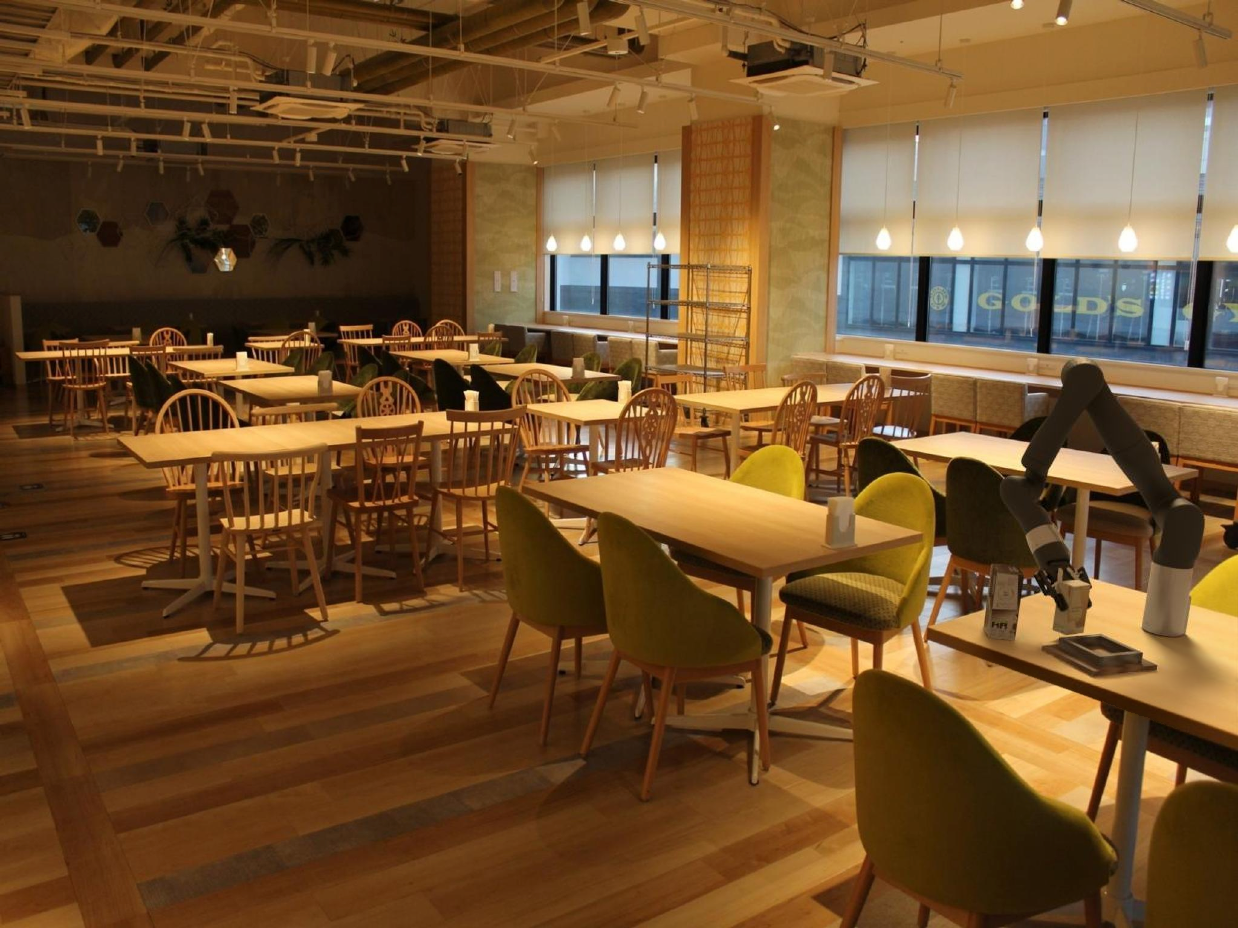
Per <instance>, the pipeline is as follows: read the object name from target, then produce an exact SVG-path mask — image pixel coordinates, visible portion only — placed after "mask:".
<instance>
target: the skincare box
mask: <svg viewBox="0 0 1238 928" xmlns="http://www.w3.org/2000/svg"><path fill="white" fill-rule="evenodd" d="M1091 585H1092V583H1091V584H1088V583H1085V582H1082V581H1079V580H1067V581H1060V582H1059V587H1060V589H1061V593H1060V594H1063V597H1064V599H1065V601H1066V603H1067V605H1068V609H1067V610H1066V611H1064V612H1061V611H1060V609H1058V607H1057V605H1056V604H1055V609H1054V615H1053V623H1052V627H1051V628H1052V629H1051V630H1052V631H1055V632H1056V633H1059V634H1062V635H1064V636H1071V635H1072V636H1074V635H1080V634H1084V632H1085V625H1086V617H1087V613H1088V609H1087V607H1088V600H1089V598H1090V592H1091V589H1090V586H1091Z"/></svg>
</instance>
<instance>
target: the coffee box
mask: <svg viewBox="0 0 1238 928" xmlns="http://www.w3.org/2000/svg"><path fill="white" fill-rule="evenodd" d="M1024 579H1025V574H1024V572H1023V571H1022V570H1021V568H1020V567H1019V566H1018V565H1013V564H1005V563H1001V564H1000V563H999V564H998V563H991V565H990V572H989V580H988V587H987V588H988V589H987V596H986V598H987V599H986V606H985V614H984V622H983V627H984V630H985V633H986V634H987V637H988V638H990V639H999V640H1006V641H1013V642H1014V641H1016V636H1017V628H1018V623H1019V617H1020V616H1019V615H1020V609H1021V607H1020V606H1021V600H1022V593H1023V587H1024Z"/></svg>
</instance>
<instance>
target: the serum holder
mask: <svg viewBox="0 0 1238 928" xmlns="http://www.w3.org/2000/svg"><path fill="white" fill-rule="evenodd" d="M1041 651H1042V652H1043V653H1046V654H1048V655H1050V656H1052V657H1054V658H1056V659H1058V660H1060V661H1062V662H1064V663H1066V664H1067V665H1070V666H1072V667H1074V668H1075V669H1077V670H1080V671H1082V672H1084V673H1086V674H1088V675H1089V676H1091V677H1094V678H1095V677H1104V676H1114V675H1121V674H1131V673H1132V674H1134V673H1141V672H1152V671H1157V670H1158V666H1159V664H1156V663H1154V662H1152V661H1150V660H1148V659H1145V658H1143V655H1144V652H1142V651H1141V650H1138V649H1136V648H1134V647H1131V646H1129V645H1127V644H1125V643H1123V642H1120V641H1118V640H1116V639H1113V638H1112V637H1109V636H1107V635H1104V634H1103V633H1094V634H1085V635H1084V634H1081V635H1072V636H1071V635H1068V636H1059V637H1058V641H1057V643H1056V644H1053V643H1052V644H1046V645H1045V644H1044V645H1042V644H1041Z"/></svg>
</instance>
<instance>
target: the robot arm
mask: <svg viewBox="0 0 1238 928" xmlns="http://www.w3.org/2000/svg"><path fill="white" fill-rule="evenodd" d="M1060 380H1061V385H1062V387H1061V389H1060V392H1059V395H1058V397H1057V400H1056V402H1055V404H1054V406H1053V408H1052V410H1051V411H1050V413H1049V414H1048V415H1047V417H1046V419H1045V420H1044V421H1043V422H1042V423H1041V425H1040V427H1038V430H1036V431H1035V433H1034V434H1033V436H1032V439H1031V440H1030V441H1029V443H1028V445H1027V447H1026V449H1025V451H1024V452H1023V455H1022V456H1021V458H1020V463H1021V466H1022V467H1023V468H1025V471H1024V474H1023V476H1020V475H1008V476H1006V477H1004V479H1002V481H1001V482H1000V483H999V484H1000V485H999V495H1000V497H1001V498H1000V499H1001V500H1002V501H1003V503H1004V505H1005V506H1006V508H1007V509H1008V511H1010V513H1011V514H1012V516H1013V517H1014V518H1015V519H1016V521H1018V523H1019V524H1020V527H1021V529H1022V531H1023V533H1024V536H1025V538H1026V541H1027V545H1028V547H1029V549H1030V552H1031V554H1032V555H1033V558H1034V560H1035V562H1036V564H1037V566H1038V568H1039V570H1037V571H1036V572H1035V573H1033V578H1034V580H1035V581H1036V583H1037V586H1038V587H1039V589H1040V591H1041V593H1042V594H1043V596H1045V597H1048V596H1049V597H1050V598H1051V599H1052V600H1054V603H1055V606H1056V605H1057V607H1058V609H1060V611H1061V612H1064V611H1066V610H1067V609H1068V605H1067V603H1066V601H1065V599H1064V597H1063V594H1060V593H1061V589H1060V587H1059V582H1060V581H1067V580H1079V581H1082V582H1085V583H1088V584H1091V586H1090V590H1092V589H1093V585H1092V583H1091V581H1090V578H1089V576H1088V573H1087V571H1086V568H1085V567H1084V566H1080V567H1076V568H1075V567H1074V566H1073V565H1072V564H1071V556H1070V554H1069V551H1068V549H1067V548H1066V545H1065V544H1064V542H1063V540H1062V537H1061V536H1060V533H1059V532H1058V530H1057V529H1056V528H1055V526H1054V524H1053V522H1052V519H1051V517H1050V515H1049V514H1048V513H1049V512H1048V511H1047V510H1046V509H1045V508H1044V507H1042V506H1041V505H1039V504H1037V501H1039V500H1040V498H1041V497H1042V495H1043V493H1044V490H1045V486H1046V483H1047V479H1048V475H1049V470H1050V468H1051V467H1052V465H1053V463H1054V462H1055V460H1056V458H1057V456H1058V455H1059V452H1060V451H1061V449H1062V447H1063V445H1064V444H1065V441H1066V439H1067V437H1068V436H1069V434H1070V432H1071V431H1072V429H1073V428H1074V426H1075V425H1076V423H1077V421H1078V419H1079V418H1080V417H1081V416H1082V414H1083V413H1084V412H1086V413H1087V415H1088V416H1089V418H1090V420H1091V423H1092V424H1093V427H1094V428H1095V430H1096V432H1097V435H1098V437H1099V438H1100V440H1101V442H1102V444H1103V445H1104V447H1105V449H1106V450H1107V452H1108V454H1109V455H1110V456H1111V458H1112V459H1113V461H1114V462H1115V464H1116V465H1117V466H1118V468H1119V469H1120V470H1121V471H1122V473H1123V475H1124V476H1126V478H1127V479H1128V480H1129V481H1130V483H1131V484H1132V485H1133V486H1134V487H1135V489H1137V492H1139V494H1140V496H1142V499H1143V501H1144V502H1145V503H1146V506H1147V508H1148V509H1149V511H1150V514H1151V515H1152V518H1153V520H1154V521H1155V523H1156V525H1157V526H1158V527H1159V528H1160V530H1162V531H1161V537H1160V540H1159V545H1158V547H1157V548H1155V549H1154V550H1153V553H1152V559H1151V564H1150V572H1149V579H1148V584H1147V591H1146V597H1145V604H1144V609H1143V615H1142V616H1143V617H1142V620H1141V621H1142V623H1141V628H1142V629H1143V630H1144V631H1146V632H1148V633H1151V634H1155V635H1158V636H1163V637H1172V638H1173V637H1175V638H1176V637H1181V636H1183V635H1184V634H1186V633H1187V628H1188V621H1189V617H1190V616H1189V615H1190V611H1191V606H1192V605H1191V602H1192V596H1191V595H1190V593H1191V586H1192V580H1193V573H1194V567H1195V563H1196V560H1197V559H1198V557H1199V555H1200V552H1201V547H1202V542H1203V537H1204V533H1205V527H1206V526H1205V525H1206V518H1205V514H1204V512H1203V511H1202V510H1201V508H1200V507H1199V506H1197V505H1196V504H1194V503H1193V502H1191V501H1189V500H1187V499H1186V498H1185V497H1184V496H1183V495H1182V494H1181V492H1179V490H1178V489H1177V488H1176V486H1174V484H1173V483H1172V482H1171V480H1170V479H1169V478H1168V476H1167V474H1166V472H1165V469H1164V466H1163V464H1162V461H1161V460H1162V459H1161V458H1160V455H1159V453H1158V451H1157V449H1156V447H1155V446H1154V444H1153V442H1152V441H1151V439H1150V438H1149V437H1148V435H1147V434H1146V432H1145V431H1144V430H1143V428H1142V427H1141V426H1140V425H1139V424H1138V422H1137V421H1136V420H1135V418H1134V417H1133V416H1132V415H1131V414H1130V412H1129V411H1128V410H1126V408H1125V407H1124V406H1123V405H1122V404H1121V403H1120V401H1118V399H1117V397H1116V396H1115V394H1114V393H1113V391H1112V390H1111V388H1110V386H1109V385H1108V382H1107V381H1106V379H1105V376H1104V373H1103V370H1102V368H1101V367H1100V366H1099V365H1098V363H1097V362H1096V361H1094V360H1093V359H1091V358H1089V357H1084V356H1077V357H1072V358H1071V359H1068V360H1067V361H1066V362H1065V363H1064V365H1063V367H1062V368H1061V371H1060ZM1091 608H1093V603H1092V600H1091V598H1090V597H1089V600H1088V607H1087V610H1089V609H1091Z"/></svg>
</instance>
